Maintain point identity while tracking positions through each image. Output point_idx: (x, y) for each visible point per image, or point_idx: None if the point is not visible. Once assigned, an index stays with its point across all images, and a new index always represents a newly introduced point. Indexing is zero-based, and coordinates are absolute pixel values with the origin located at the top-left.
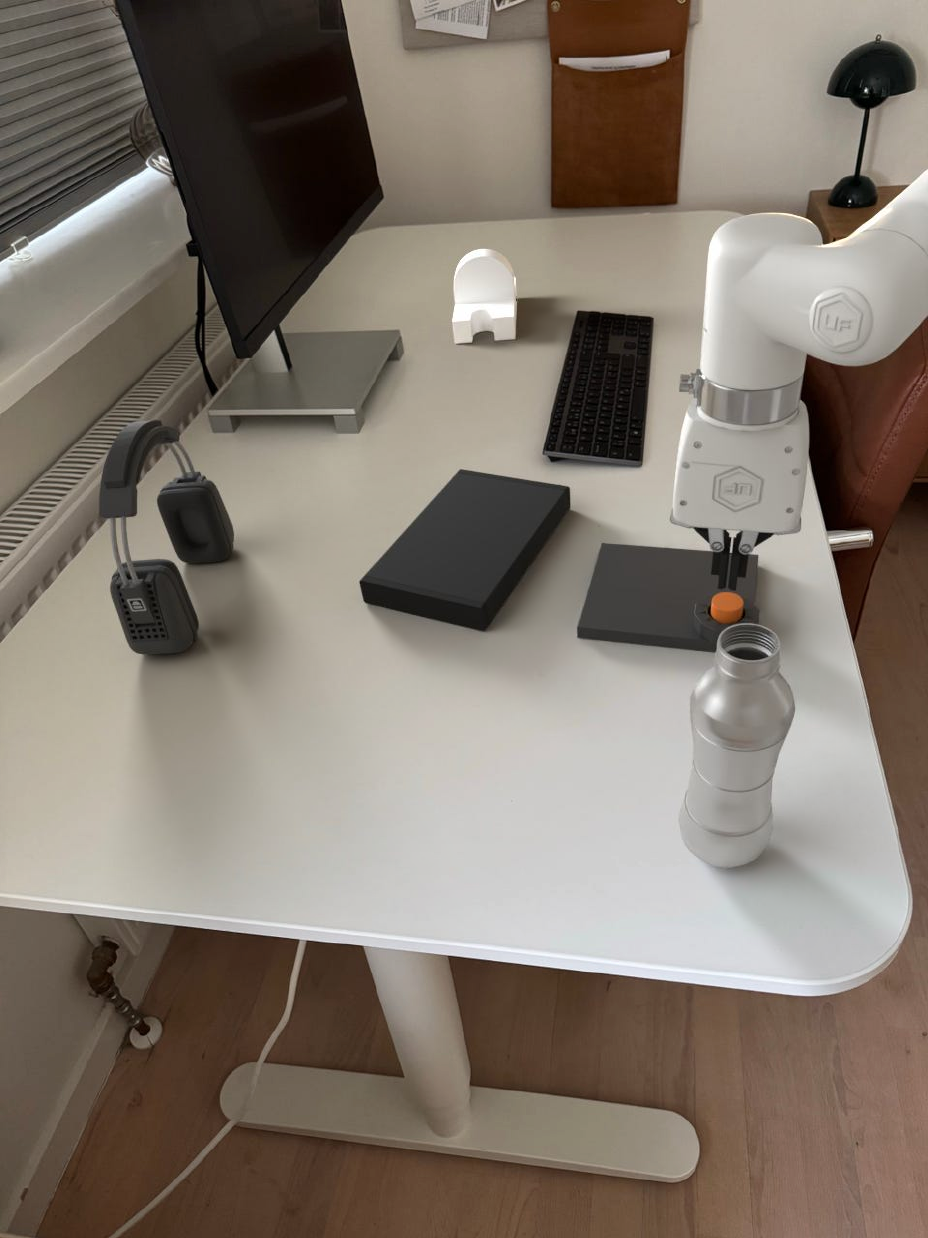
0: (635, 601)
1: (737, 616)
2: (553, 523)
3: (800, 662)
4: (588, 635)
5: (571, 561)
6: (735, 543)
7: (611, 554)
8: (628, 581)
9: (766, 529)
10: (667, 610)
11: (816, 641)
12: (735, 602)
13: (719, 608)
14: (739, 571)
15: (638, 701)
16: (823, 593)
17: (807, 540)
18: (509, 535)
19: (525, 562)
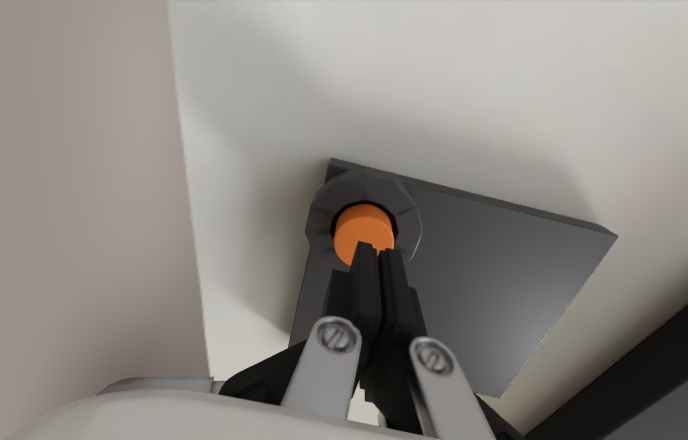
0: (494, 283)
1: (348, 213)
2: (553, 436)
3: (253, 137)
4: (588, 224)
5: (540, 372)
6: (365, 362)
7: (495, 377)
8: (489, 325)
9: (229, 425)
10: (449, 259)
11: (225, 184)
12: (349, 239)
13: (383, 226)
14: (348, 281)
15: (558, 50)
16: (208, 280)
17: (222, 369)
18: (659, 429)
19: (632, 377)
